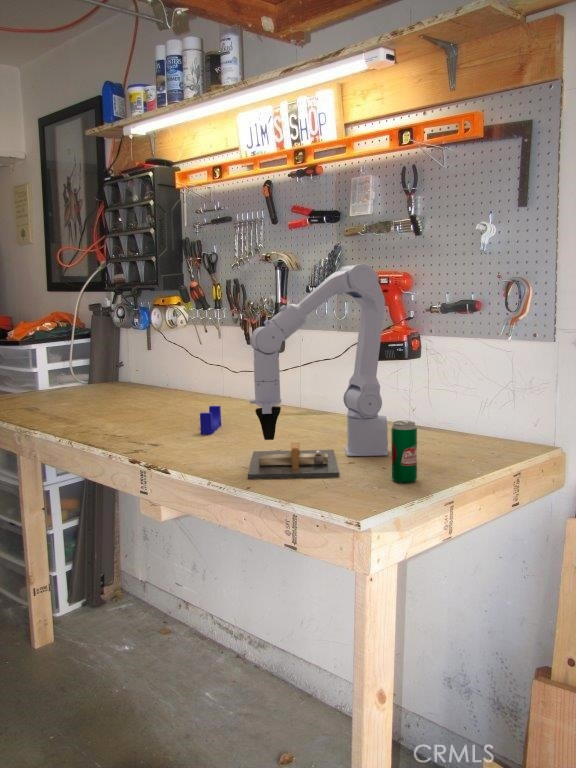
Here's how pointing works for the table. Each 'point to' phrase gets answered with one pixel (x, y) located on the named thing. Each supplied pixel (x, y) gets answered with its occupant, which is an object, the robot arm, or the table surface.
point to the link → (287, 459)
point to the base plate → (293, 465)
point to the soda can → (404, 451)
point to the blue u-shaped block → (210, 420)
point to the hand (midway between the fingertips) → (269, 439)
